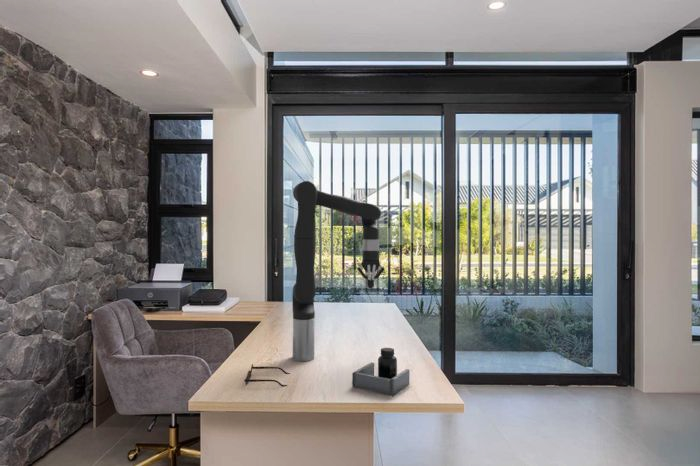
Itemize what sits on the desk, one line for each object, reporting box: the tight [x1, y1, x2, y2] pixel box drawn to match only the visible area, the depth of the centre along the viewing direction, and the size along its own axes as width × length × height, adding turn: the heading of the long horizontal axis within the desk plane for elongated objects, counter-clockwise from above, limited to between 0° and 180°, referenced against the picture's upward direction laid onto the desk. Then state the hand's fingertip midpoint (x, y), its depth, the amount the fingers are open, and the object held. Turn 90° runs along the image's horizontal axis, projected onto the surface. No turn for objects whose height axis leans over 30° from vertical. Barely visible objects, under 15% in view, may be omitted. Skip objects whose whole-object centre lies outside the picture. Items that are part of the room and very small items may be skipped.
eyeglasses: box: [243, 363, 291, 387], centre depth 154 cm, size 15×15×5 cm
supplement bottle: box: [377, 347, 398, 379], centre depth 152 cm, size 7×7×12 cm
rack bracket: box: [351, 362, 410, 397], centre depth 150 cm, size 14×15×5 cm
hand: (370, 288), depth 191 cm, fingers closed
